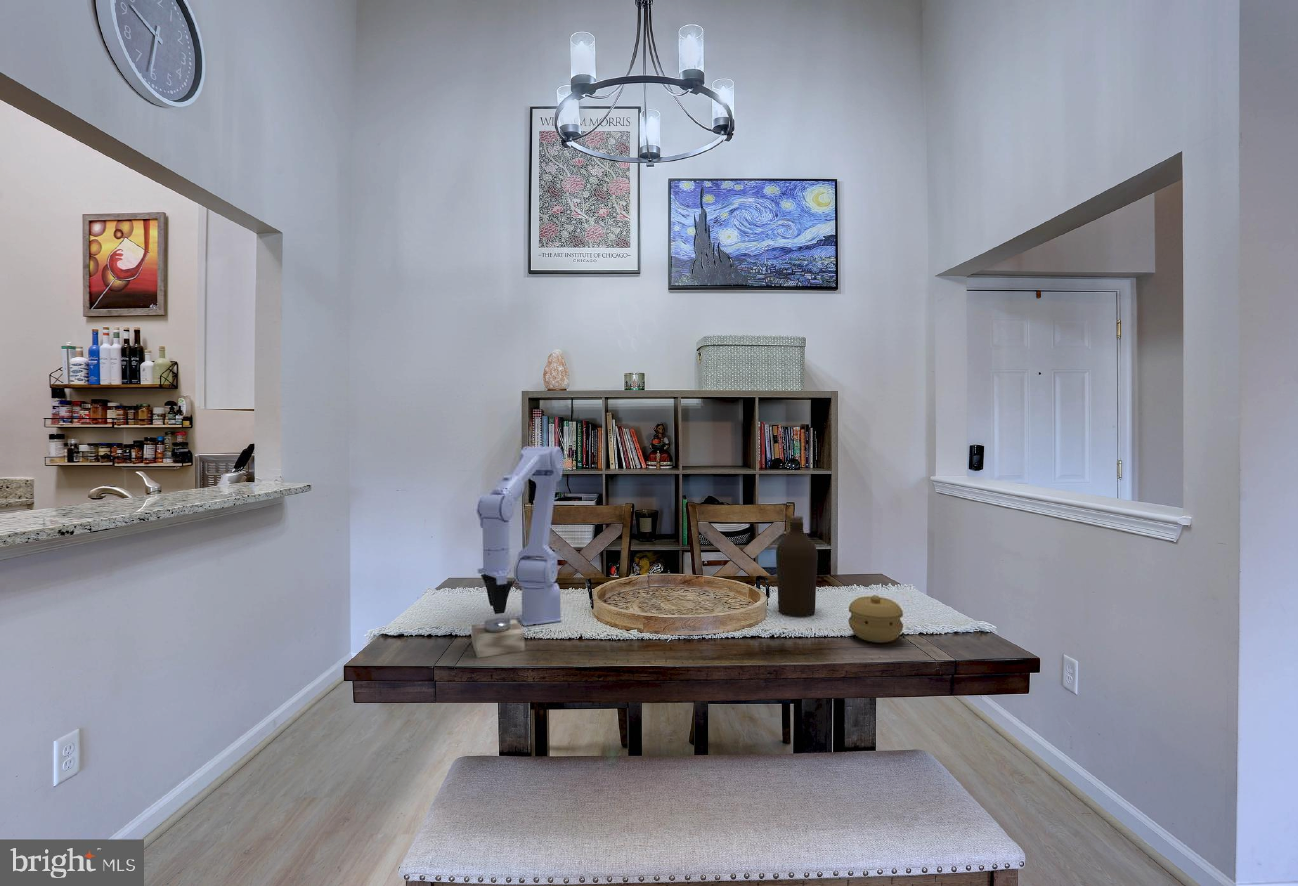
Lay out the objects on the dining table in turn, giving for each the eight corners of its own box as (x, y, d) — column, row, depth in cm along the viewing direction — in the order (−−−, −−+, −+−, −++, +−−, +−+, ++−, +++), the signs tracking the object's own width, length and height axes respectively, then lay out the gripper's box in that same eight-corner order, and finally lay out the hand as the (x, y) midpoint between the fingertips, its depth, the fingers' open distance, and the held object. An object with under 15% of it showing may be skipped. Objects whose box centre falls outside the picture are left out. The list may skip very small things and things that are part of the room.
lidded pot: (879, 628, 148) (879, 586, 148) (915, 644, 137) (915, 599, 137) (837, 633, 144) (837, 591, 144) (870, 651, 133) (870, 605, 133)
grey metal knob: (508, 638, 141) (507, 616, 141) (512, 646, 136) (512, 624, 136) (482, 642, 139) (482, 620, 139) (486, 650, 134) (486, 627, 134)
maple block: (516, 636, 144) (515, 619, 144) (524, 650, 135) (524, 632, 135) (471, 642, 140) (471, 625, 140) (477, 657, 131) (477, 639, 131)
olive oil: (796, 620, 154) (796, 521, 153) (767, 610, 163) (767, 515, 162) (826, 613, 159) (826, 517, 159) (796, 603, 168) (796, 512, 168)
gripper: (473, 544, 142) (474, 602, 142) (482, 556, 128) (483, 620, 129) (504, 541, 145) (505, 599, 145) (516, 553, 131) (517, 616, 132)
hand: (497, 609), depth 137 cm, fingers open, 6 cm apart
